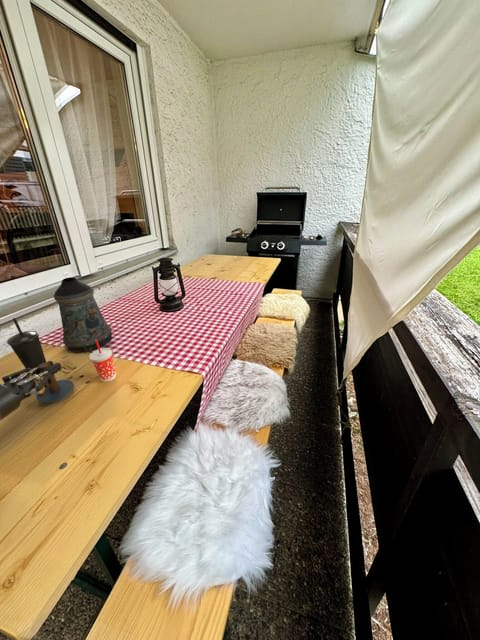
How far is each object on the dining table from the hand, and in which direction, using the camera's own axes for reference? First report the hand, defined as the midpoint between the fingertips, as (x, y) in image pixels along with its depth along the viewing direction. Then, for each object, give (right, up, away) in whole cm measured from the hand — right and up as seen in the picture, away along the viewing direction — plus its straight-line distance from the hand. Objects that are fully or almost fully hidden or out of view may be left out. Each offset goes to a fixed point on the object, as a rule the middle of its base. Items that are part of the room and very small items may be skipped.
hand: (56, 364), depth 73 cm
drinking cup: (-13, -5, +11) cm, 18 cm away
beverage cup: (+10, -6, +9) cm, 15 cm away
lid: (-1, -8, +1) cm, 8 cm away
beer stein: (-8, +4, +28) cm, 29 cm away
